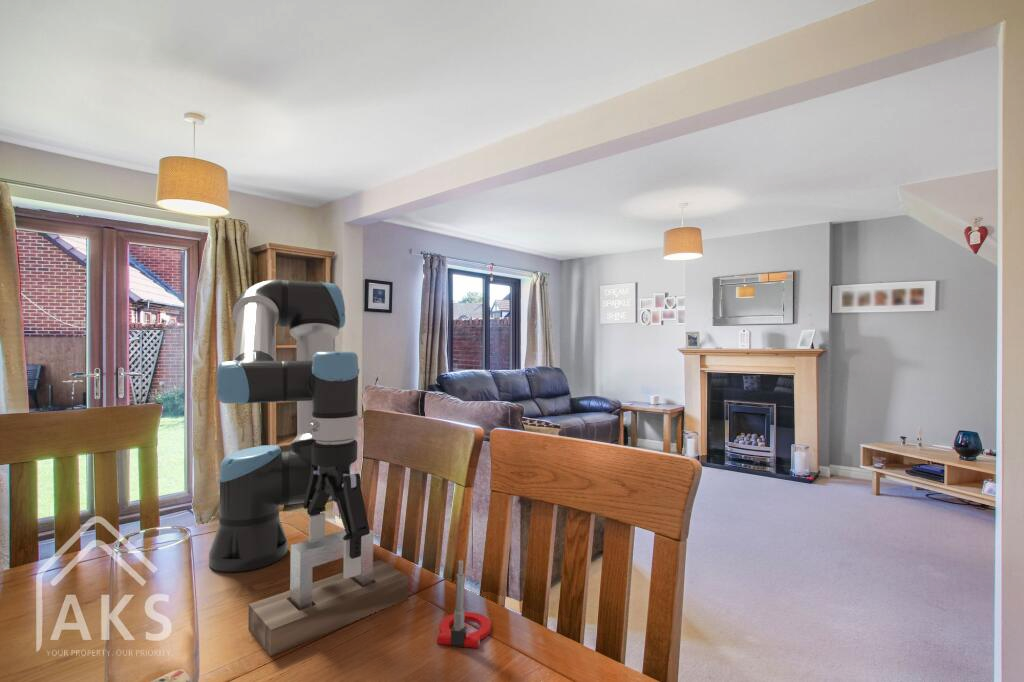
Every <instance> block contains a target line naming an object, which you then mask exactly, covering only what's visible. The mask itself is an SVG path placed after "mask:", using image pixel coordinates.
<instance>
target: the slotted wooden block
mask: <svg viewBox="0 0 1024 682" xmlns="http://www.w3.org/2000/svg"><path fill="white" fill-rule="evenodd" d="M406 599H407V600H409V576H407V575H406V574H404V573H403V572H401V571H399V570H397V569H396V568H394V567H392V566H391V565H390V564H388V563H386V562H384V561H383V560H381V559H379V560H376V561H373V584H370V585H368V586H365V587H361V586H360V585H359V584H357V583H356V582H355V581H353V580H352V577H350V578H348V579H344V578H343V572H341V573H338V574H334V575H331V576H329V577H326V578H323V579H320V580H319V579H318V580H317V581H314V582H313V581H312V606H311V607H308V608H306V609H303V610H300V611H299V610H298V609H297V608H296V607H295V606H294V605H293V604H292V603H290V589H289V590H287V591H284V592H282V593H278V594H275V595H272V596H269V597H267V598H263V599H260V600H257V601H254V602H250V603H248V624H247V625H248V627H247V628H248V630H249V632H250V633H251V635H253V637H254V638H255V639H256V641H257V642H258V643H259V644H260V646H261V647H262V648H263V649H264V650H265V652H266V653H267V655H268V656H269V657H273V656H276V655H277V654H280V653H283V652H284V651H287V650H290V649H292V648H294V647H297V646H299V645H302V644H304V643H306V642H309V641H311V640H313V639H317V638H319V637H321V636H323V635H326V634H328V633H330V632H332V631H335V630H337V629H339V628H343V627H344V626H348V625H350V624H352V623H354V622H356V620H357V621H359V620H361V618H362V619H364V618H367V617H369V616H371V615H373V614H376V613H378V612H380V610H381V611H383V610H385V609H388V608H389V607H393V606H395V605H397V604H400V603H402V602H404V601H406ZM401 601H402V602H401ZM399 602H400V603H399ZM392 605H393V606H392ZM382 609H383V610H382ZM375 612H376V613H375ZM370 614H371V615H370Z"/></svg>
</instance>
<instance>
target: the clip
mask: <svg viewBox="0 0 1024 682" xmlns="http://www.w3.org/2000/svg"><path fill="white" fill-rule="evenodd" d="M345 535H346V532H345V529H344V530H340V531H337V532H334V533H330V534H325V536H322V537H318V538H315V539H311V540H309V539H308V540H305V541H301V542H297V543H294V544H293V543H292V544H291V545H290V567H289V568H290V569H289V570H290V572H289V573H290V575H289V577H290V580H289V581H290V583H289V585H290V586H289V590H290V603H292V604H293V605H294V606H295V607H296V608H297V609H298V610H299V611H300V610H303V609H306V608H308V607H311V606H312V583H313V568H314V567H318V566H320V565H324V564H326V563H330V562H333V561H337V560H339V559H340V560H341V559H344V540H343V537H344V536H345ZM373 562H374V531H373V530H372V529H370V533H369V534H368V535H364V536H362V538H361V574H359V575H356V576H353V577H352V580H353V581H355V582H356V583H357V584H359V585H360V586H361V587H365V586H368V585H370V584H373Z"/></svg>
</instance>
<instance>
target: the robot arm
mask: <svg viewBox="0 0 1024 682" xmlns="http://www.w3.org/2000/svg"><path fill="white" fill-rule="evenodd" d="M343 295H344V294H343V292H342V290H341V288H340V287H339V286H338V285H337V284H336V283H330V282H323V281H307V280H303V281H302V280H288V279H287V280H286V279H267V280H264V281H261V282H257V283H255V284H253V285H250V286H249V287H248V288H247V289H245V290H244V291H243V292H242V293H240V294H239V295H238V297H237V298H236V300H235V302H234V304H233V307H232V319H233V321H234V323H235V324H236V325H235V326H236V328H235V337H234V344H233V354H232V355H233V357H232V360H230V361H223V362H220V363H219V364H218V367H217V371H216V373H217V374H216V395H217V400H218V401H219V402H220V403H222V404H241V405H246V404H261V403H278V402H279V403H281V402H283V403H284V402H296V411H297V412H296V414H297V415H296V417H297V421H296V422H297V423H296V425H297V429H296V430H297V433H296V437H295V438H294V439H293V440H292V441H291V442H290V443H289V444H290V448H289V449H290V450H288V451H282V449H281V447H280V446H279V445H275V444H270V445H268V444H266V445H258V446H253V447H252V446H251V447H248V448H244V449H240V450H237V451H234V452H232V453H230V454H228V455H226V456H225V457H224V458H223V459H222V461H221V462H220V465H219V477H218V483H219V508H218V512H219V513H218V516H219V517H218V518H219V519H218V528H217V530H216V532H215V536H214V539H213V541H212V543H211V547H210V550H209V553H208V566H209V568H211V569H212V570H215V571H217V572H223V573H237V572H246V571H252V570H257V569H261V568H264V567H267V566H269V565H272V564H274V563H276V562H279V561H280V560H281V559H283V558H284V557H285V556H286V555H287V553H288V549H289V548H288V543H289V542H288V538H287V535H286V533H285V530H284V526H283V524H282V521H281V517H280V507H281V506H286V505H287V506H288V505H294V504H302V507H303V509H304V510H306V512H307V515H309V516H308V540H311V539H315V538H318V537H322V536H326V513H325V512H326V511H327V508H326V504H327V503H328V500H332V501H333V502H334V503H336V505H337V509H338V512H339V515H340V518H341V522H342V524H343V528H344V530H345V532H346V535H345V536H344V537H343V540H344V557H343V561H342V563H343V565H342V566H343V571H342V573H343V578H344V579H348V578H350V577H353V576H356V575H359V574H361V538H362V536H364V535H368V534H369V533H370V530H371V529H370V525H369V521H368V516H367V512H366V505H365V502H364V497H363V492H362V488H361V487H362V486H361V475H360V473H354V474H351V468H352V467H351V466H352V464H354V463H356V461H357V460H358V444H359V443H358V441H357V440H356V438H357V437H358V435H359V433H358V432H359V431H358V429H359V413H358V405H359V404H358V402H359V400H358V398H359V396H358V395H359V374H360V368H359V356H358V354H357V352H355V351H341V350H339V351H335V350H334V339H335V338H336V337H337V336H339V334H340V329H343V328H344V326H345V325H346V308H345V307H346V306H345V301H344V296H343ZM276 327H284V328H285V327H286V328H288V327H289V335H290V336H291V337H293V338H294V339H295V340H296V360H277V353H276V351H277V350H276V349H277V348H276V330H275V329H276Z"/></svg>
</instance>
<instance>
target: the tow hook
mask: <svg viewBox="0 0 1024 682" xmlns="http://www.w3.org/2000/svg"><path fill="white" fill-rule="evenodd" d="M457 567H458V568H457V574H456V577H455V578H456V582H455V583H456V585H455V589H456V590H455V610H454V611H453V612H454V613H452V614H450V615H449V614H448V615H447V616H445V617H444V618H443V619H442V620H441V621H440V623H439V627H438V628H439V632H438V634H437V639H436V640H437V641H436V644H438V645H445V646H446V645H447V646H451V647H458V648H474V649H479V648H480V645H481V641H482V639H485V638H486V637H488V635H489V634H490V632H491V630H492V623H491V621H490V619H489V617H487V616H485V615H483V614H481V613H478V612H474V611H473V612H472V611H465V610H464V597H465V596H464V594H465V593H464V592H465V573H464V561H463V560H461V559H460V560H458V563H457ZM465 621H471V622H474V623H477V624H479V626H480V628H479V629H477V630H476V631H473V632H469V633H468V634H467V628H468V627H467V626H465ZM452 624H453V626H452V628H450V626H451V625H452Z"/></svg>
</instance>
